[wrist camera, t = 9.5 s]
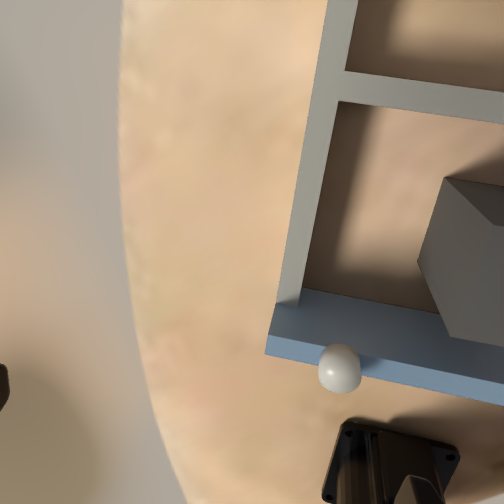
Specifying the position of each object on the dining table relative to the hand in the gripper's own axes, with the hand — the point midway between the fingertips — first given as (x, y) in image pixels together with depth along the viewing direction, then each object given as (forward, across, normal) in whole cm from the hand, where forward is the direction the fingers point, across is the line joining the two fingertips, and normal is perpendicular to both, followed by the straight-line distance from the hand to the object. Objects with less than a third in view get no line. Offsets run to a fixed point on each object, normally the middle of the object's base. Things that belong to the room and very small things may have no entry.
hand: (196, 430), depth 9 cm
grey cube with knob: (+12, -9, -2) cm, 15 cm away
